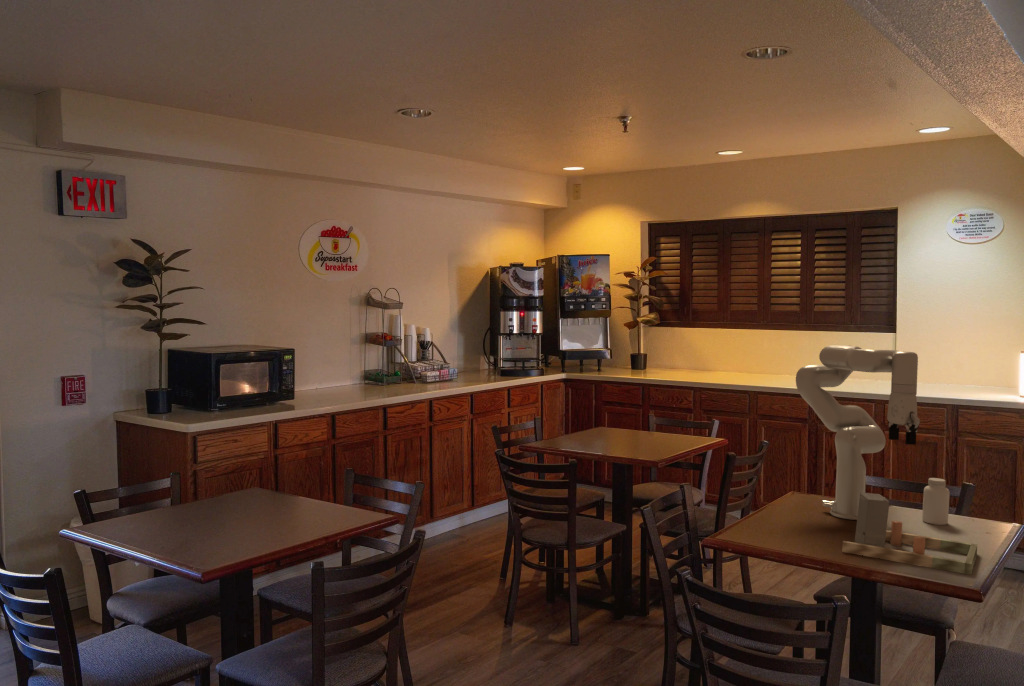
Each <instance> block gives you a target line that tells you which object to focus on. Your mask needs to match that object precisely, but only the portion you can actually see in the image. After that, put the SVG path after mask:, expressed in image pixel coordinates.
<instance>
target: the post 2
mask: <svg viewBox="0 0 1024 686" xmlns="http://www.w3.org/2000/svg"><path fill="white" fill-rule="evenodd" d="M920 536H921V535H920ZM920 536H914V541H913V545H912V553H918V554H924V555H926V554H925V551H926V549H925V548H926V547H925V538H924V537H920Z"/></svg>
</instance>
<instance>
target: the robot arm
mask: <svg viewBox="0 0 1024 686" xmlns="http://www.w3.org/2000/svg"><path fill="white" fill-rule="evenodd" d="M818 357H819V362H820V363H821V364H808V365H804V366H802V367H800V368H799V369H798V370H797V371H796V375H795V386H796V389H797V392H798V393H799V395H800V396H801V398H802V399H803V400H804V401H805V402H806V403H807V404H808V405H809V406H810V408H812V410H813V411H814V413H815V414H816V415H817V417H818V418H819V419H820V420H821V422H822V423H823V424H824V426H825V427H826V428H827V429H828V430H829V431H831V432H835V437H834V445H835V451H836V476H835V477H836V478H835V499H834V500H832V501H829V500H825V499H823V500H822V506H824V507H825V508H831V509H830V513H829V514H831V516H833V517H837V518H839V519H844V520H855V521H857V517H858V508H859V499H860V493H866V478H867V477H866V476H867V466H866V462H865V460H864V457H863V456H862V454H863V455H864V454H875V453H879V452H881V451H882V450H883V449H884V448H885V446H886V436H885V434H884V432H883V430H882V428H881V427H880V426H879V425H878V424H877V423H876V421H875V420H874V419H873V418H872V416H871V415H870V414H869V413H868V412H867V410H865V409H864V408H862V407H861V406H858V405H852V404H851V405H843V404H840V403H839V402H838V401H837V400H836V398H835V397H834V396H833V395H832V394H831V393H830V392H829V391H827V390H825V389H824V388H836V387H839V386H841V385H843V383H844V382H845V381H846V380H847V379H848V377H849V376H851V374H852V373H853V372H862V373H873V374H874V373H891V385H890V386H891V387H890V391H891V392H890V394H889V399H888V406H887V413H886V420H887V423H888V440H890V441H891V440H895V441H898V440H899V439H900V427H899V426H905V428H906V431H905V445H909V446H910V445H916V444H917V433H918V429H919V428H920V427H919V425H920V423H921V419H920V418H919V417H918V401H917V395H918V394H917V392H918V390H917V389H918V369H919V368H918V366H919V357H918V354H917V352H913V351H900V350H895V349H862V348H861V347H860V346H857V345H856V346H854V345H850V344H849V345H848V344H847V345H845V344H844V345H843V344H842V345H841V344H840V345H839V344H838V345H837V344H835V345H834V344H830V345H827V346H824V348H822V349H820V352H819V356H818Z"/></svg>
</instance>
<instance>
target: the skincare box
mask: <svg viewBox="0 0 1024 686" xmlns="http://www.w3.org/2000/svg"><path fill="white" fill-rule="evenodd" d="M889 509H890V501H889V500H888V499H887V498H886V497H885V496H884V495H881V493H872V492H871V493H870V492H865V493H860V499H859V508H858V517H857V520H856V528H855V536H854V543H860V544H866V545H871V546H877V547H883V548H886V547H885V545H886V541H885V538H886V530H887V529H888V528H887V526H888V517H889Z"/></svg>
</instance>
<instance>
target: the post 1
mask: <svg viewBox="0 0 1024 686" xmlns="http://www.w3.org/2000/svg"><path fill="white" fill-rule="evenodd" d="M890 529H891V530H890V531H891V541H890V545H891V546H897V547H900V546H902V543H901V540H902V533H903V522H902V521H899V520H891V527H890Z"/></svg>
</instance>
